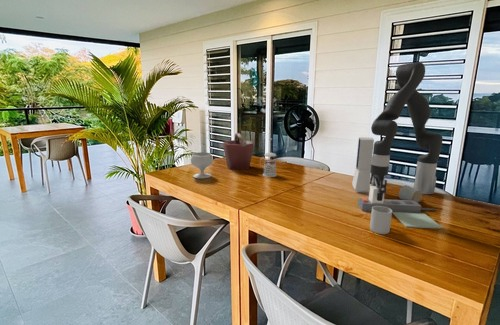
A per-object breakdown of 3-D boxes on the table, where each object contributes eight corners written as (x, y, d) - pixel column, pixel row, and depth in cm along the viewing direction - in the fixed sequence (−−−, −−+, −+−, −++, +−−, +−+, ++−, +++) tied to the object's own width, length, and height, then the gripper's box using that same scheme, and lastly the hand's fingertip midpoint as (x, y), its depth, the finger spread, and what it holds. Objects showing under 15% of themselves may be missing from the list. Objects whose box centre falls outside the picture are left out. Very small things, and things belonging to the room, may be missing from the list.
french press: (277, 177, 186) (278, 139, 180) (259, 176, 186) (260, 139, 180) (276, 173, 195) (277, 137, 189) (259, 172, 195) (260, 136, 190)
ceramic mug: (412, 205, 139) (414, 190, 137) (397, 200, 146) (399, 185, 144) (425, 202, 144) (428, 187, 142) (410, 197, 151) (412, 183, 149)
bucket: (253, 171, 199) (253, 136, 193) (221, 171, 199) (221, 135, 193) (253, 163, 223) (253, 131, 217) (225, 163, 223) (224, 131, 217)
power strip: (430, 208, 136) (432, 199, 135) (438, 213, 129) (440, 205, 128) (357, 205, 139) (358, 196, 138) (361, 210, 132) (362, 202, 131)
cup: (366, 230, 112) (369, 209, 110) (375, 222, 120) (377, 202, 118) (386, 236, 108) (388, 214, 106) (393, 227, 115) (396, 207, 113)
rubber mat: (424, 214, 128) (424, 213, 128) (441, 228, 115) (442, 227, 114) (392, 213, 129) (392, 212, 129) (405, 227, 116) (406, 225, 116)
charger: (378, 203, 136) (381, 185, 134) (382, 207, 132) (384, 189, 130) (368, 202, 137) (370, 185, 135) (371, 206, 132) (373, 188, 130)
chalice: (217, 176, 186) (217, 153, 183) (201, 180, 176) (200, 157, 172) (203, 172, 195) (202, 151, 192) (187, 176, 185) (186, 154, 181)
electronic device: (369, 193, 155) (375, 139, 148) (354, 192, 157) (360, 138, 150) (365, 186, 167) (370, 136, 160) (351, 185, 168) (356, 135, 162)
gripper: (395, 168, 122) (390, 203, 126) (382, 160, 136) (379, 192, 140) (377, 167, 123) (373, 202, 127) (366, 160, 137) (363, 192, 141)
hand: (376, 197), depth 133 cm, fingers open, 8 cm apart
